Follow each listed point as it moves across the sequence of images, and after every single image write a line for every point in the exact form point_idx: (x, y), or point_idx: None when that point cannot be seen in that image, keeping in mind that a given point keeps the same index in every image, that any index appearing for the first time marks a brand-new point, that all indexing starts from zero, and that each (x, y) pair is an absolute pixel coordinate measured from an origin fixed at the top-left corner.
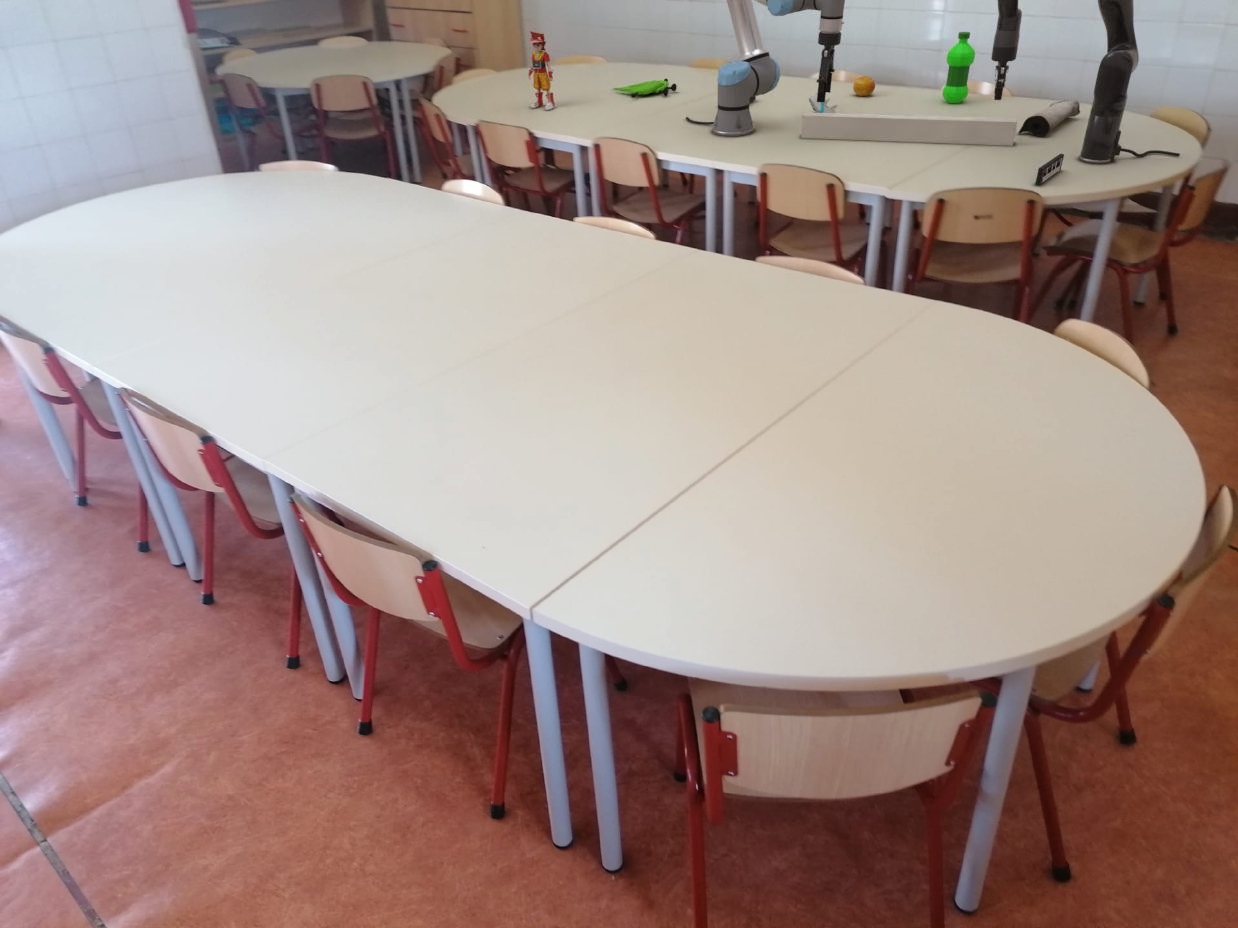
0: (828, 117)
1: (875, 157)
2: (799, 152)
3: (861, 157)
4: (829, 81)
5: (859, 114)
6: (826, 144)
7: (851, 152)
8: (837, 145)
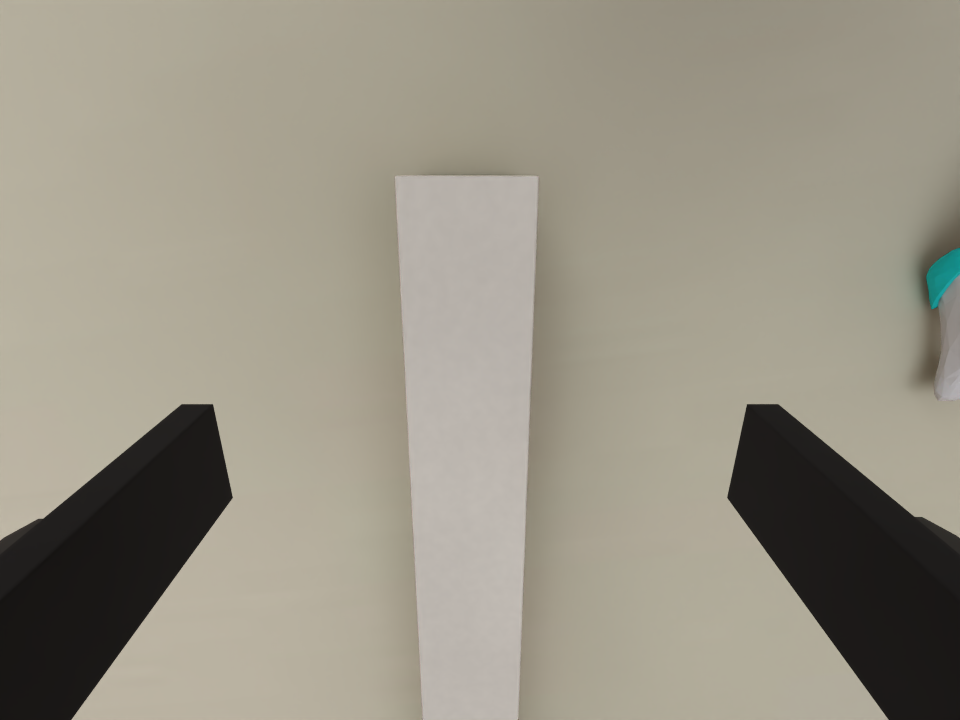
0: (408, 429)
1: None
2: (46, 224)
3: None
4: (827, 596)
5: (506, 641)
6: (302, 376)
7: None
8: (297, 443)
